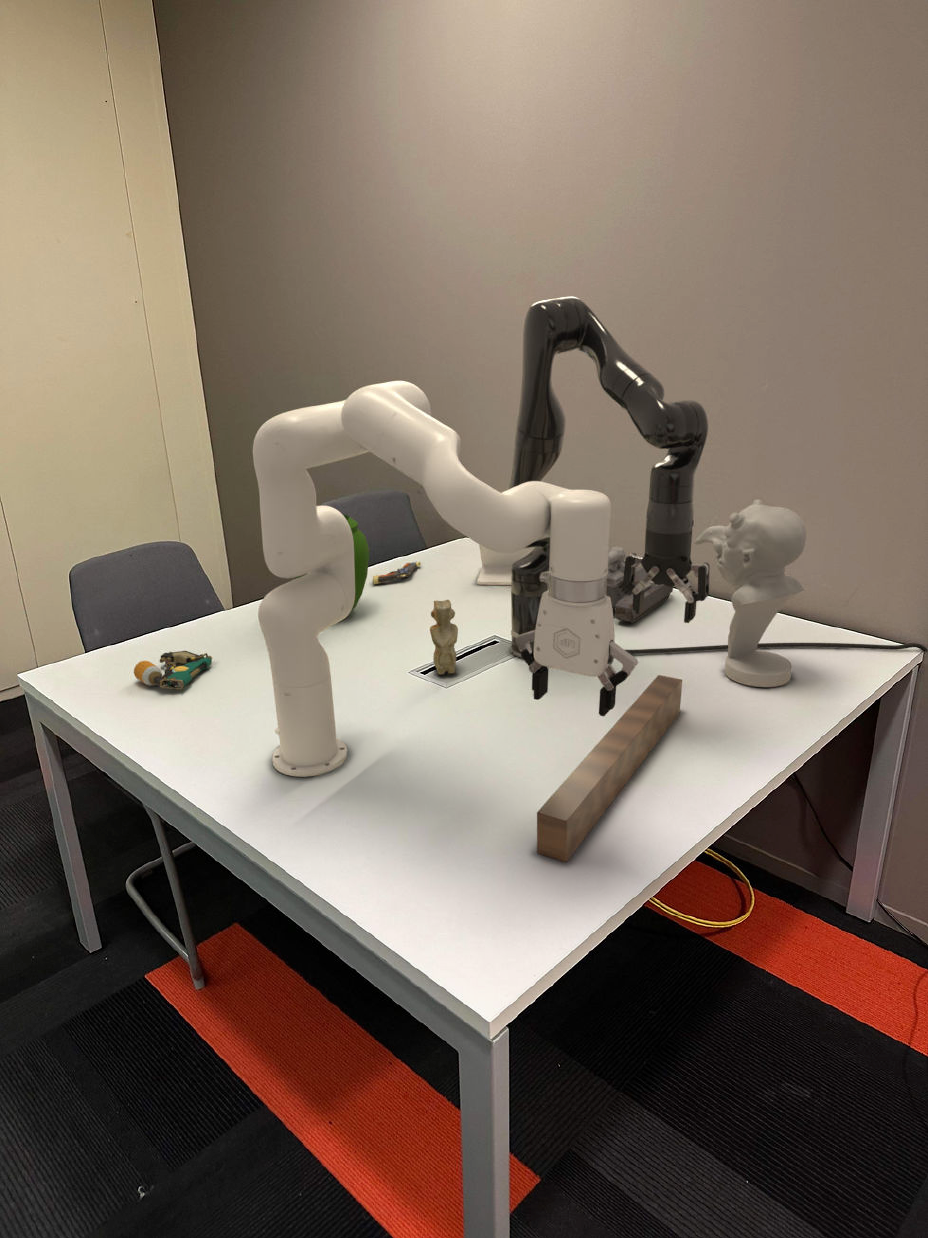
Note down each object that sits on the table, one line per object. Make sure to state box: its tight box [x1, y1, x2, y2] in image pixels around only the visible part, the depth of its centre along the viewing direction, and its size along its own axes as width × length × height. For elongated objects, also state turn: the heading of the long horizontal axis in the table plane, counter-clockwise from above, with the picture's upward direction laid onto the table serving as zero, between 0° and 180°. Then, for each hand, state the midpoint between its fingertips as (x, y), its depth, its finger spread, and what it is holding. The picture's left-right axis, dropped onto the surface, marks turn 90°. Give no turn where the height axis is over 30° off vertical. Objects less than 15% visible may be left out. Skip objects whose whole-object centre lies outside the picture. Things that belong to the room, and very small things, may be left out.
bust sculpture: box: [693, 499, 807, 688], centre depth 171 cm, size 16×24×35 cm, turn 28°
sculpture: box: [429, 599, 459, 675], centre depth 177 cm, size 6×7×15 cm
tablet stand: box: [476, 544, 534, 586], centre depth 236 cm, size 18×25×17 cm
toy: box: [606, 546, 674, 624], centre depth 212 cm, size 25×20×15 cm
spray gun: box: [133, 650, 213, 690], centre depth 180 cm, size 4×17×15 cm
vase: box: [293, 513, 370, 615], centre depth 209 cm, size 20×20×24 cm
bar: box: [536, 674, 683, 863], centre depth 138 cm, size 51×4×7 cm, turn 149°
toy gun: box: [372, 561, 422, 585], centre depth 242 cm, size 3×19×10 cm
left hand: (572, 703), depth 117 cm, fingers open, 9 cm apart
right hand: (663, 617), depth 146 cm, fingers open, 8 cm apart
